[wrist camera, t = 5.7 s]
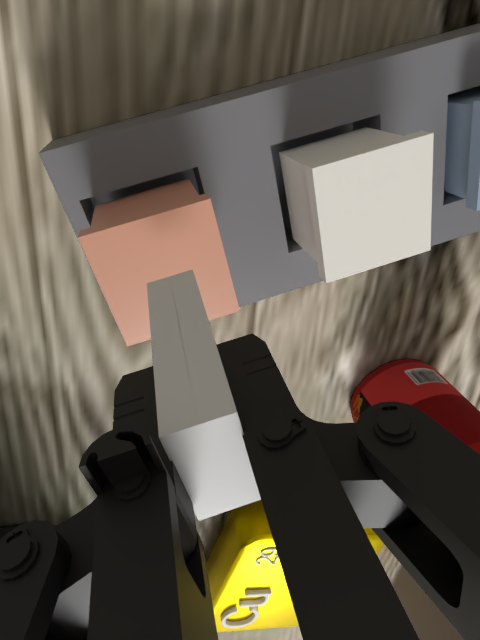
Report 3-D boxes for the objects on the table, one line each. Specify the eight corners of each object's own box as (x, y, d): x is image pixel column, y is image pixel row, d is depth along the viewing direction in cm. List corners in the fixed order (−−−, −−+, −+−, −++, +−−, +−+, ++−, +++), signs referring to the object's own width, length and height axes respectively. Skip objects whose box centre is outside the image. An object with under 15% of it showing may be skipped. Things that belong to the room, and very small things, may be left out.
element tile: (312, 585, 50) (329, 630, 46) (190, 590, 44) (196, 641, 40) (371, 497, 44) (396, 541, 40) (237, 491, 38) (250, 541, 34)
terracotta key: (126, 294, 22) (127, 346, 18) (87, 201, 19) (77, 237, 15) (218, 266, 23) (240, 310, 18) (192, 171, 20) (210, 198, 16)
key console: (125, 308, 26) (125, 343, 23) (52, 140, 21) (38, 153, 18) (489, 195, 28) (538, 212, 25) (507, 15, 23) (573, 5, 20)
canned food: (333, 392, 34) (410, 511, 25) (419, 337, 33) (532, 440, 24) (366, 441, 38) (443, 560, 29) (444, 394, 37) (548, 500, 28)
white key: (289, 244, 23) (326, 283, 19) (273, 148, 20) (312, 168, 16) (375, 217, 23) (430, 250, 19) (370, 120, 21) (433, 132, 16)
